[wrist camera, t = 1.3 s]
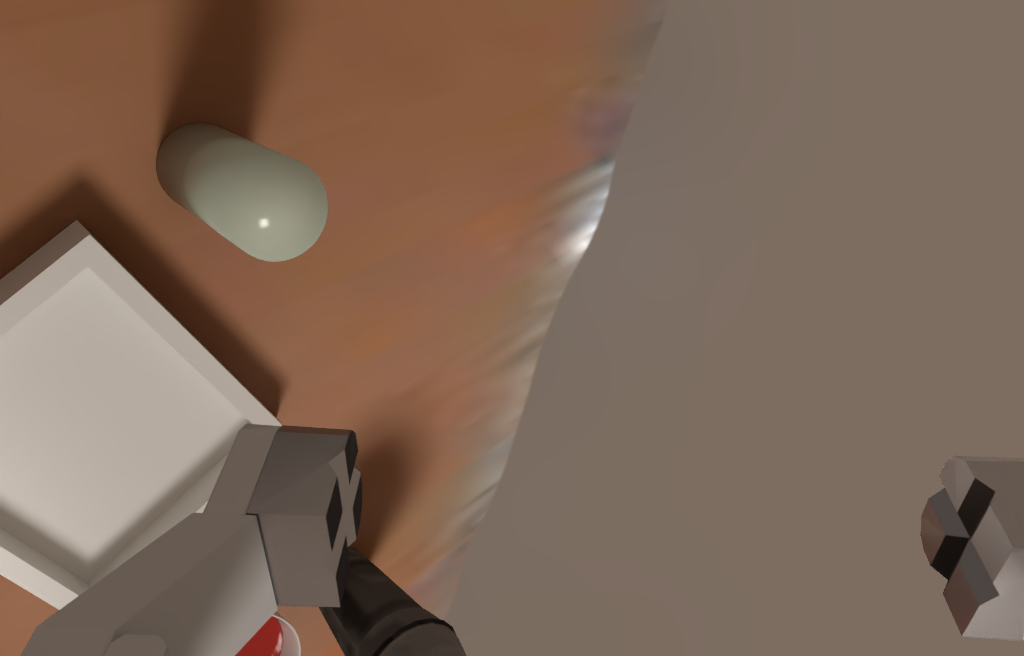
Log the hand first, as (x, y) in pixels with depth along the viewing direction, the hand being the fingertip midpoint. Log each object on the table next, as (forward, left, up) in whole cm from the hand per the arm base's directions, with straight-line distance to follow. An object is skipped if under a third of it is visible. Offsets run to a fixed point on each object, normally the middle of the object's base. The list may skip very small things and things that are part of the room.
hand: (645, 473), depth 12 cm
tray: (+13, -12, -43) cm, 46 cm away
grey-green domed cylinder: (+6, +3, -43) cm, 43 cm away
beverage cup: (+36, -9, -43) cm, 57 cm away
